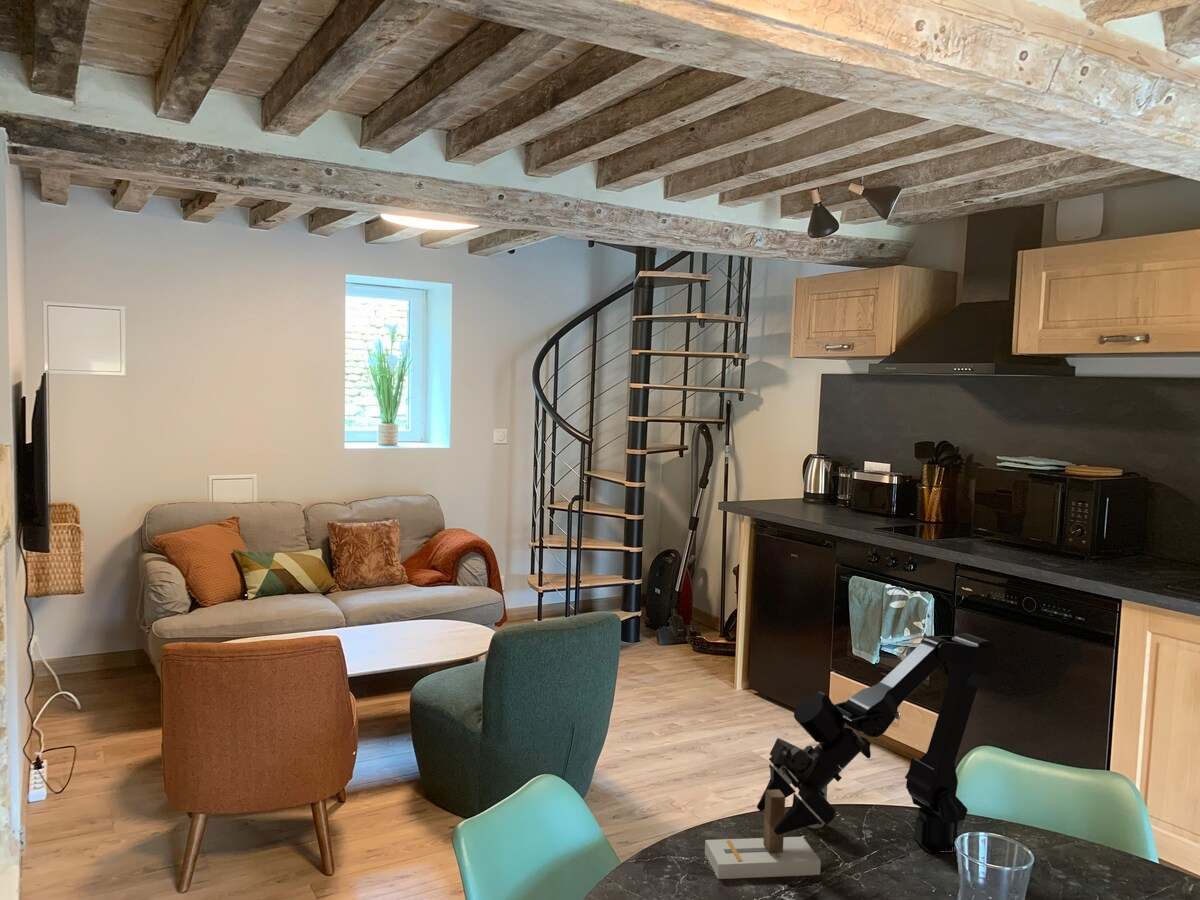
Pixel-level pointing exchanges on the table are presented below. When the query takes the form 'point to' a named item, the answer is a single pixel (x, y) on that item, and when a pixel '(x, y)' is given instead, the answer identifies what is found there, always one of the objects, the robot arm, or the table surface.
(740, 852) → the fader console
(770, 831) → the lever
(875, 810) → the table surface
